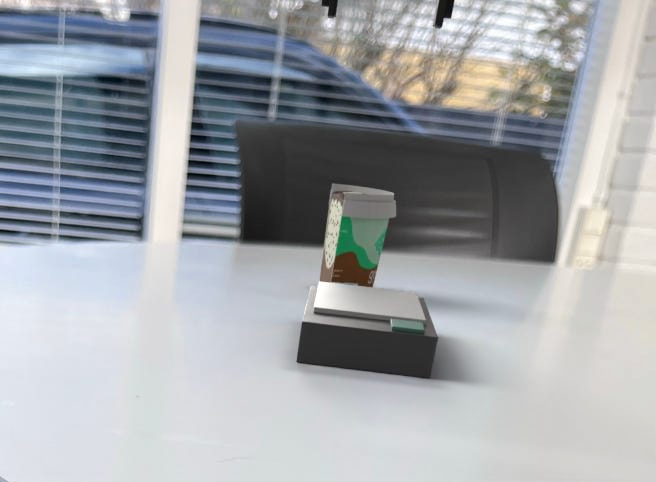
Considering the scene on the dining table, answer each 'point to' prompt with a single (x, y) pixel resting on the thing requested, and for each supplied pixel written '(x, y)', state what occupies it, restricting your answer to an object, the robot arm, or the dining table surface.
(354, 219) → the food container
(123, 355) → the dining table surface
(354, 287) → the scale
